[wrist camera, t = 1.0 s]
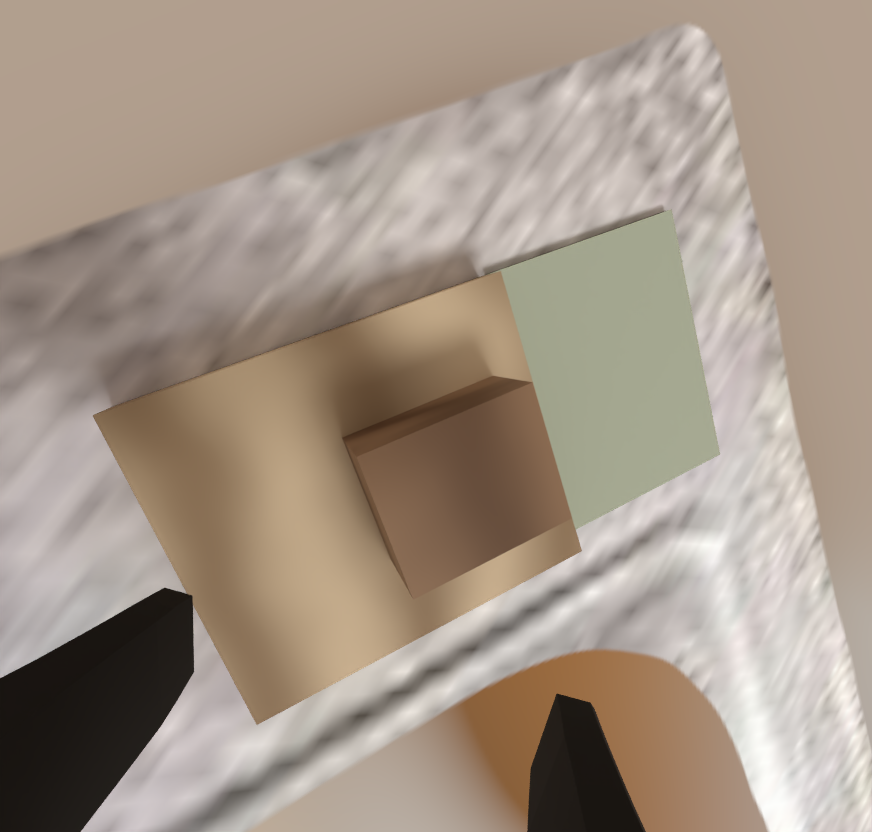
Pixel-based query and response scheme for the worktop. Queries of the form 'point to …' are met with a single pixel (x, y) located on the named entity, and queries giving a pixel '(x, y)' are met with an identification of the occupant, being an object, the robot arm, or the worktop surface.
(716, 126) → the worktop surface
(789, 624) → the worktop surface
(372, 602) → the birch board
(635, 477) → the sage mat
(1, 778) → the robot arm
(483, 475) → the walnut block
